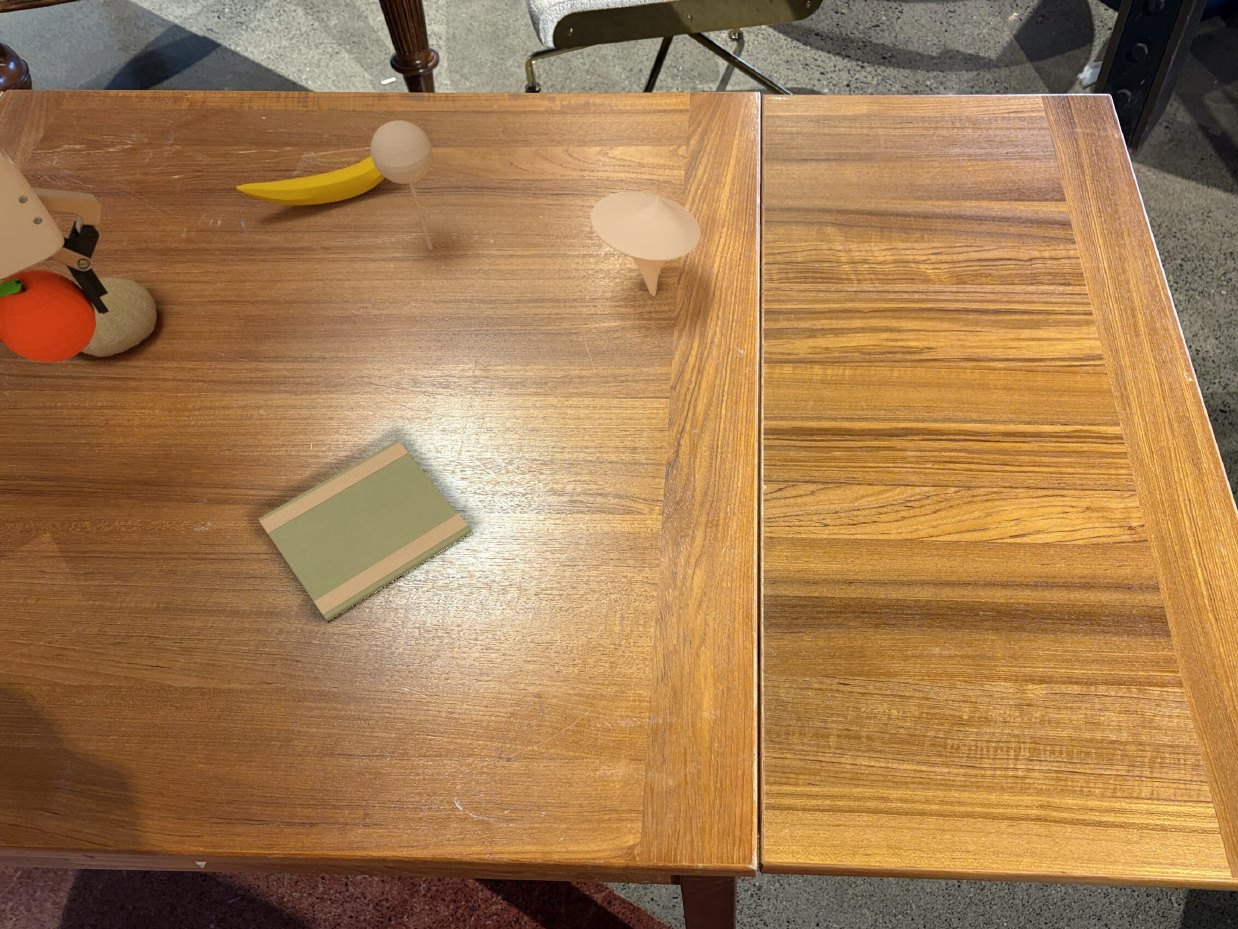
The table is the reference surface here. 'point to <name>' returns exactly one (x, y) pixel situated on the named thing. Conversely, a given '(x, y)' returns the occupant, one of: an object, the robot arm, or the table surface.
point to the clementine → (45, 316)
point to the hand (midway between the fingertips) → (43, 328)
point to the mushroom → (646, 230)
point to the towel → (363, 528)
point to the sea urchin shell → (122, 318)
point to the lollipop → (403, 157)
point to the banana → (318, 186)
